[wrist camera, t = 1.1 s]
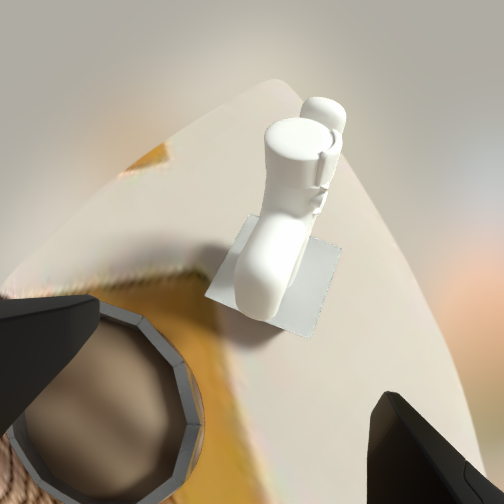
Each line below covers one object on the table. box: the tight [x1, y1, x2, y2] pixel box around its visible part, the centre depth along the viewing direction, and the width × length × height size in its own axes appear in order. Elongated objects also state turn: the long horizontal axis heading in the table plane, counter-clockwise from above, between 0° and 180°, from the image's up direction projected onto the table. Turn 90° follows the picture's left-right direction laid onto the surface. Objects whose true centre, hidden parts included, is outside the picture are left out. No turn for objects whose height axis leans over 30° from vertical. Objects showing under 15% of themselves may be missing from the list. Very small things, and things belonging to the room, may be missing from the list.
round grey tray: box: [7, 301, 204, 504], centre depth 17 cm, size 16×16×2 cm
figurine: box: [205, 97, 346, 339], centre depth 17 cm, size 7×9×15 cm
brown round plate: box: [25, 319, 205, 503], centre depth 18 cm, size 16×16×1 cm
